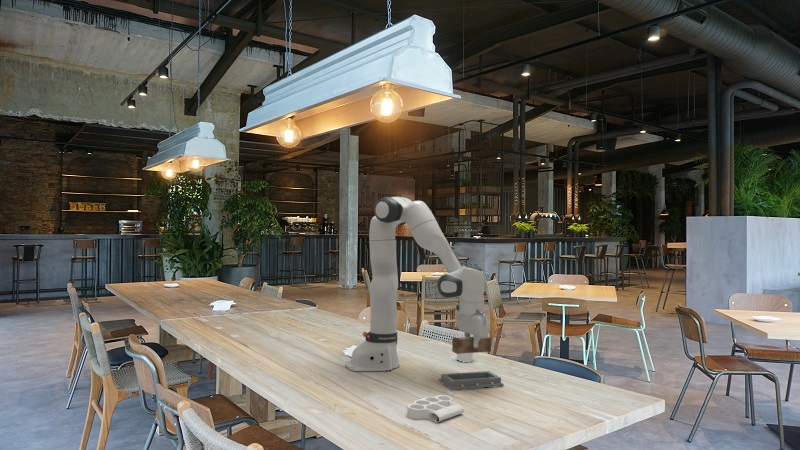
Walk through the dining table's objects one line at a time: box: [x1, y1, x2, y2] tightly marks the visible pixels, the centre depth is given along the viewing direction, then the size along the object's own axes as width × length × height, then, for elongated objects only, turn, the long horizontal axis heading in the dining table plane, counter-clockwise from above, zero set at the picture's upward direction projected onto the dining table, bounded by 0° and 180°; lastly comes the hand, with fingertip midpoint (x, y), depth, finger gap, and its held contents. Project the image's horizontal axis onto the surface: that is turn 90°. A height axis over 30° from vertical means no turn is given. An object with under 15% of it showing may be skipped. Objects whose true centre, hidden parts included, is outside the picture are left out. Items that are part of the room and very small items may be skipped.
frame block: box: [451, 336, 492, 355], centre depth 190 cm, size 14×4×5 cm, turn 108°
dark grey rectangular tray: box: [438, 370, 505, 391], centre depth 190 cm, size 21×12×3 cm, turn 108°
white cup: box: [456, 336, 474, 363], centre depth 225 cm, size 8×8×10 cm
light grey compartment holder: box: [406, 394, 465, 423], centre depth 158 cm, size 3×18×15 cm
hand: (471, 345), depth 190 cm, fingers closed on frame block, 4 cm apart
